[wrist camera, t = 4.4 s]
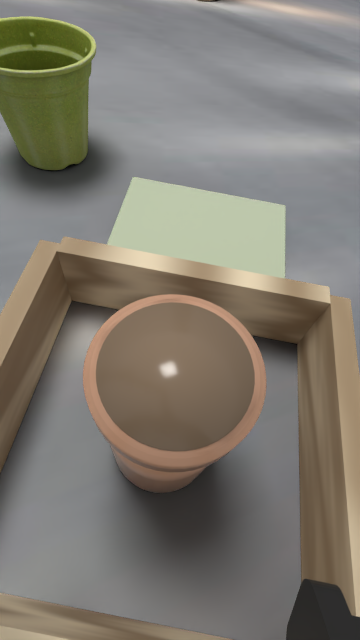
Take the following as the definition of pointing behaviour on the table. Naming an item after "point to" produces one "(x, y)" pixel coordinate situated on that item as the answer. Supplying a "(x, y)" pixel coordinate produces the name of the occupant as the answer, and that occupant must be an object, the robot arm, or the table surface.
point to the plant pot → (46, 89)
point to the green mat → (202, 227)
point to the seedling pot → (172, 388)
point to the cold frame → (260, 320)
